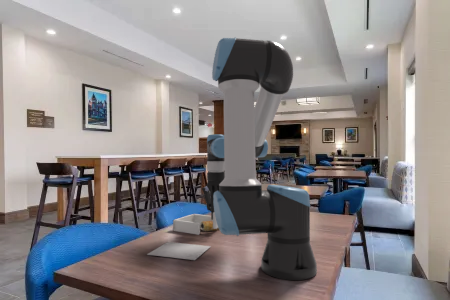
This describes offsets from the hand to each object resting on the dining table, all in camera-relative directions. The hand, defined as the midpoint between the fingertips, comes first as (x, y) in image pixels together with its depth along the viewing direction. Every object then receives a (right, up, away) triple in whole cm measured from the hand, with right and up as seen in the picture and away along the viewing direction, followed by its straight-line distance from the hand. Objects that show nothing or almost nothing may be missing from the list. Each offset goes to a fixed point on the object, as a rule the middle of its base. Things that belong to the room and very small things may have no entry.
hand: (216, 227), depth 122 cm
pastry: (-3, -2, +4) cm, 5 cm away
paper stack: (-6, -2, -22) cm, 22 cm away
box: (-9, -2, +5) cm, 10 cm away
